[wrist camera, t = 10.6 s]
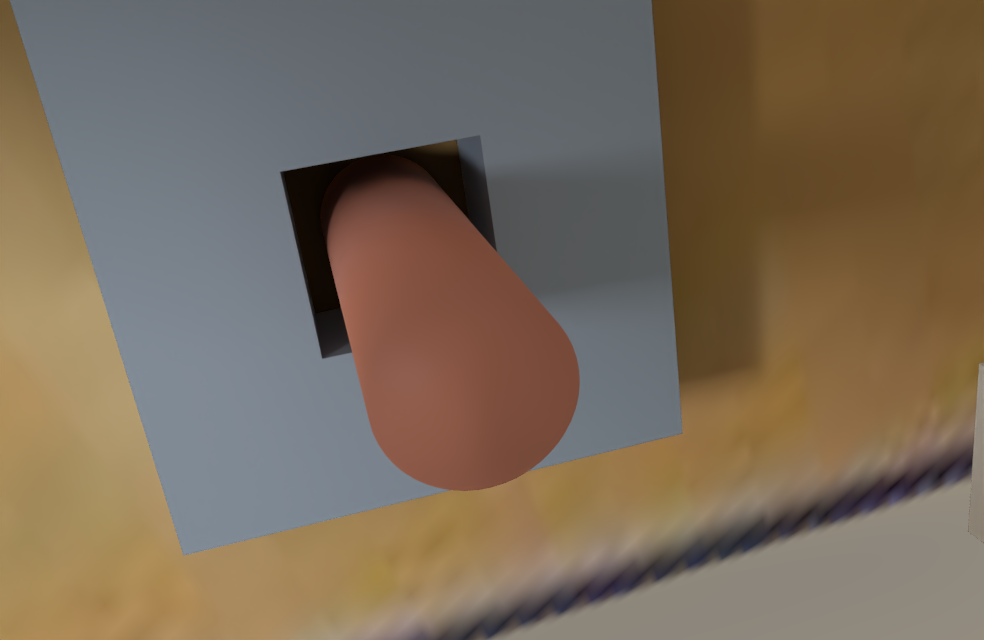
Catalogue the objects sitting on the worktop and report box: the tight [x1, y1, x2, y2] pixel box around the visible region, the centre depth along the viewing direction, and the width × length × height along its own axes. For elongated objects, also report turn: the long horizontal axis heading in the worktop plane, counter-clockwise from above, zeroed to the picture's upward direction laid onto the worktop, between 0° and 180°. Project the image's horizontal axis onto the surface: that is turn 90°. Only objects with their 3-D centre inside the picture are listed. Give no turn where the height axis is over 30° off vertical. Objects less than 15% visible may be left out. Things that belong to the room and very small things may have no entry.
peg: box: [321, 155, 580, 491], centre depth 24 cm, size 4×4×14 cm
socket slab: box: [10, 0, 682, 555], centre depth 28 cm, size 16×16×4 cm
